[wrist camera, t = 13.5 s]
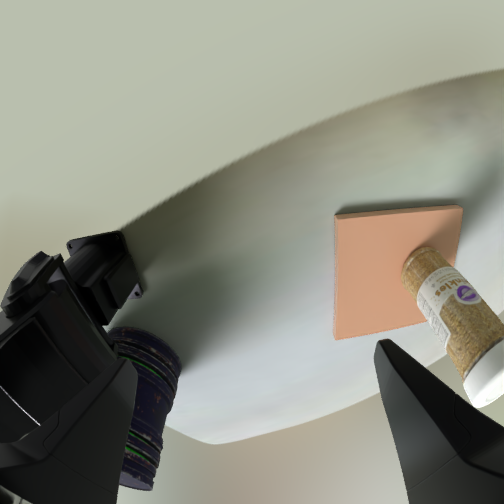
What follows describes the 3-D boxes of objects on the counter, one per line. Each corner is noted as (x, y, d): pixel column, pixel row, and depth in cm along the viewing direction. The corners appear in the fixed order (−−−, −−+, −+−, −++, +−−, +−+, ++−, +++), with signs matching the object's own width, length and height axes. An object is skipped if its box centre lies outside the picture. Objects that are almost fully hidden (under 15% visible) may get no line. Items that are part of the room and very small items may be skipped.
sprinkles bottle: (438, 237, 19) (540, 342, 7) (440, 278, 21) (518, 384, 9) (395, 257, 20) (484, 386, 8) (401, 297, 22) (467, 420, 10)
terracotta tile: (333, 333, 25) (334, 340, 24) (334, 215, 20) (337, 219, 19) (435, 312, 24) (439, 318, 23) (457, 204, 19) (463, 208, 18)
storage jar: (199, 374, 29) (177, 495, 15) (142, 388, 31) (112, 484, 18) (141, 314, 25) (81, 448, 11) (89, 338, 27) (35, 438, 14)
